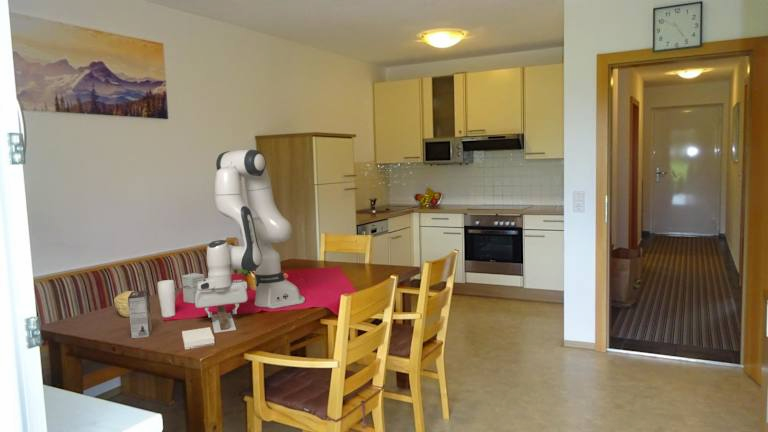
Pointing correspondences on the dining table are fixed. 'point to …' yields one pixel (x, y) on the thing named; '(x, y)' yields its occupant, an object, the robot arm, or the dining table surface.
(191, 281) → the supplement box
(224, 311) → the stick
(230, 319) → the mat
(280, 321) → the dining table surface
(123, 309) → the sculpture
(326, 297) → the dining table surface
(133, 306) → the coffee box
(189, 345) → the tile
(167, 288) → the drinking glass
